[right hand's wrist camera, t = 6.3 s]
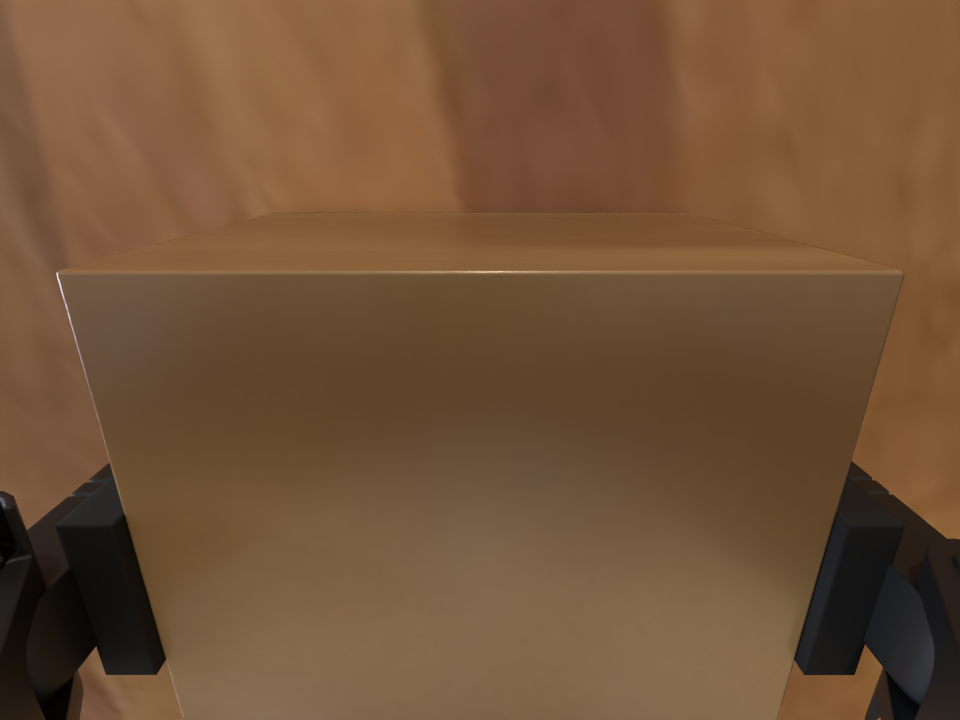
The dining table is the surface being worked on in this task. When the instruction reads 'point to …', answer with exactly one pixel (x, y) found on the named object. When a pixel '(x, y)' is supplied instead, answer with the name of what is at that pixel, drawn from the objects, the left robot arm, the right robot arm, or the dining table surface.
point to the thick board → (480, 458)
